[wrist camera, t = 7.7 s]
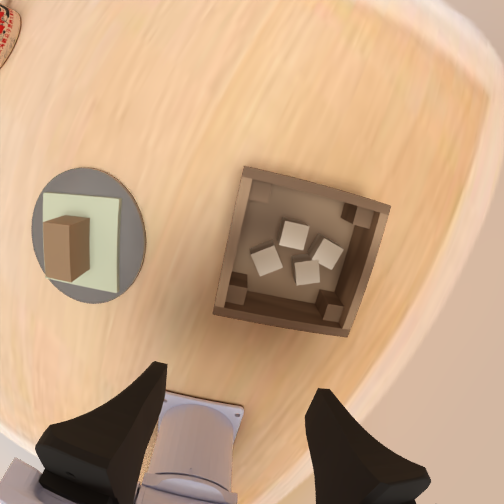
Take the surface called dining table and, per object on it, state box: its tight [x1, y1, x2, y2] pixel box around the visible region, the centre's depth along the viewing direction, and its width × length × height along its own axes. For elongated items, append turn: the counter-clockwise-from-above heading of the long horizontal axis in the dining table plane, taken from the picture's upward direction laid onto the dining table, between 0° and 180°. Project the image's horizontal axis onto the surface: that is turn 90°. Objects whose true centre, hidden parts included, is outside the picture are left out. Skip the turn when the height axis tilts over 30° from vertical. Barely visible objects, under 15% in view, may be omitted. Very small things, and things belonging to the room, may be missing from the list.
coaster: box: [32, 168, 146, 304], centre depth 21 cm, size 11×11×1 cm
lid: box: [43, 192, 122, 293], centre depth 19 cm, size 7×7×4 cm
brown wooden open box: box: [213, 166, 391, 337], centre depth 20 cm, size 9×9×4 cm
